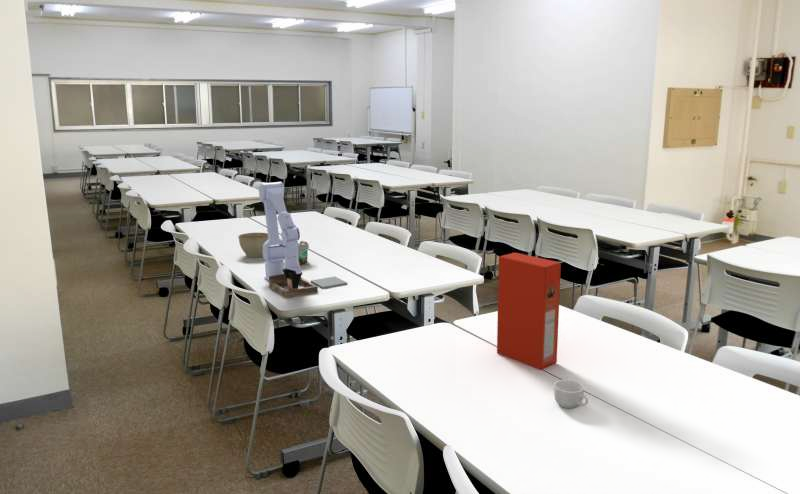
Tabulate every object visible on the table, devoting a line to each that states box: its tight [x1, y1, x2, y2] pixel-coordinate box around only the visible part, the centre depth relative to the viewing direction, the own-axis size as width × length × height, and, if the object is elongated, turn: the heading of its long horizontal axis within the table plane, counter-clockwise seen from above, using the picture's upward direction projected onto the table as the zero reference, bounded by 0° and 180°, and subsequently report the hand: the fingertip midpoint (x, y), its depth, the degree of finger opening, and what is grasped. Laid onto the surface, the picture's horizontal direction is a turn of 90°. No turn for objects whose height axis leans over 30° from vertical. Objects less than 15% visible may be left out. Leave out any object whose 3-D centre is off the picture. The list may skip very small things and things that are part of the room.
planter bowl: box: [238, 232, 268, 258], centre depth 334 cm, size 16×16×11 cm
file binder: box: [496, 252, 562, 371], centre depth 197 cm, size 8×17×32 cm, turn 40°
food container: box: [298, 240, 310, 266], centre depth 317 cm, size 12×6×10 cm, turn 168°
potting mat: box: [310, 275, 348, 290], centre depth 283 cm, size 12×12×1 cm
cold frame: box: [268, 274, 319, 299], centre depth 274 cm, size 18×14×5 cm
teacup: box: [553, 379, 589, 409], centre depth 169 cm, size 10×8×5 cm
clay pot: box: [287, 277, 300, 291], centre depth 274 cm, size 5×5×5 cm
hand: (293, 286), depth 274 cm, fingers closed on clay pot, 5 cm apart
